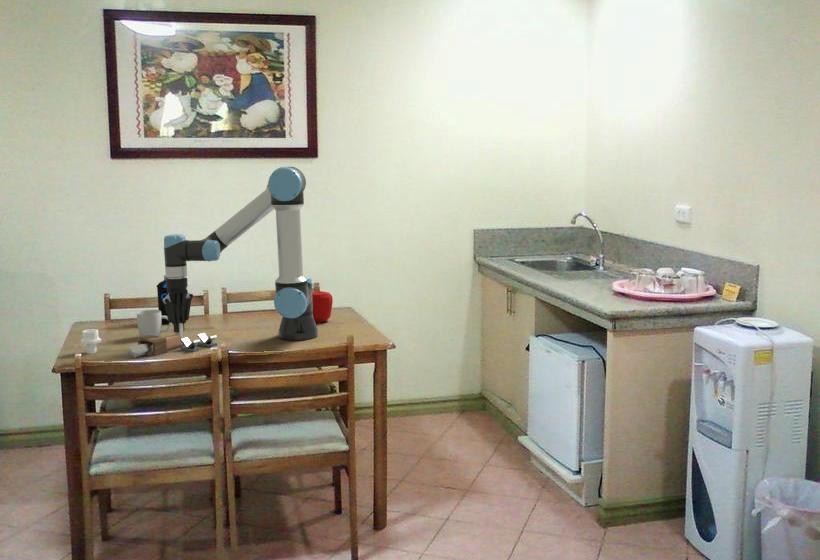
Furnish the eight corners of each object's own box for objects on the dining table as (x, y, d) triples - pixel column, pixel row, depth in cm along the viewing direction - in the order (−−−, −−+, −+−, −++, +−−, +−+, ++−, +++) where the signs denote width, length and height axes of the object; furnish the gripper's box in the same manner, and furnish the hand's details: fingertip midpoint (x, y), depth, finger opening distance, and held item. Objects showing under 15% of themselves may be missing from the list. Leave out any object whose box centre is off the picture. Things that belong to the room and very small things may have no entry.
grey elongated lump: (151, 349, 279) (152, 339, 278) (159, 353, 277) (160, 343, 276) (128, 355, 271) (129, 345, 269) (135, 359, 269) (136, 349, 267)
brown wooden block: (181, 346, 286) (181, 335, 285) (158, 352, 277) (157, 341, 276) (175, 344, 287) (174, 334, 287) (152, 350, 279) (151, 340, 278)
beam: (197, 344, 288) (196, 330, 287) (150, 356, 271) (150, 341, 270) (180, 341, 293) (179, 327, 292) (133, 353, 275) (133, 338, 274)
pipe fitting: (99, 354, 274) (98, 332, 273) (78, 355, 273) (76, 332, 272) (104, 350, 280) (103, 328, 279) (84, 350, 280) (82, 328, 278)
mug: (138, 341, 294) (136, 315, 292) (138, 336, 302) (136, 310, 301) (173, 338, 298) (171, 312, 296) (172, 333, 306) (170, 308, 305)
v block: (217, 345, 286) (217, 335, 285) (194, 352, 277) (193, 341, 276) (203, 343, 290) (203, 332, 289) (180, 349, 280) (179, 338, 280)
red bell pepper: (337, 321, 327) (337, 289, 325) (317, 324, 320) (316, 292, 318) (323, 317, 335) (323, 286, 333) (303, 320, 328) (302, 289, 326)
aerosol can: (155, 322, 327) (152, 275, 324) (174, 319, 332) (171, 273, 329) (163, 325, 321) (160, 277, 318) (182, 322, 326) (179, 275, 323)
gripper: (183, 274, 291) (186, 335, 294) (155, 278, 280) (158, 342, 284) (197, 275, 286) (200, 338, 290) (169, 280, 276) (172, 345, 280)
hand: (179, 340), depth 287 cm, fingers closed
